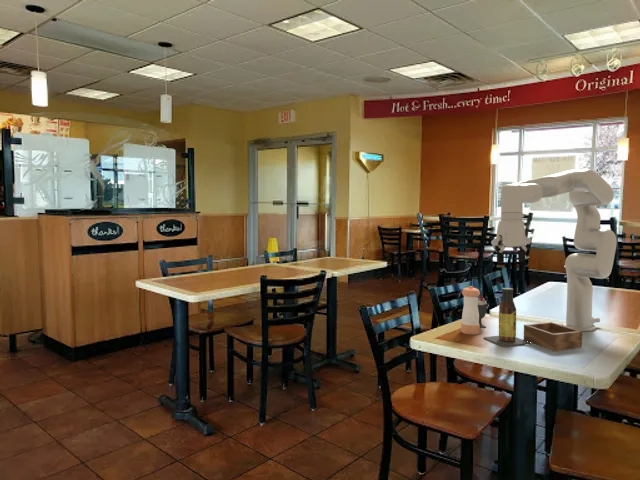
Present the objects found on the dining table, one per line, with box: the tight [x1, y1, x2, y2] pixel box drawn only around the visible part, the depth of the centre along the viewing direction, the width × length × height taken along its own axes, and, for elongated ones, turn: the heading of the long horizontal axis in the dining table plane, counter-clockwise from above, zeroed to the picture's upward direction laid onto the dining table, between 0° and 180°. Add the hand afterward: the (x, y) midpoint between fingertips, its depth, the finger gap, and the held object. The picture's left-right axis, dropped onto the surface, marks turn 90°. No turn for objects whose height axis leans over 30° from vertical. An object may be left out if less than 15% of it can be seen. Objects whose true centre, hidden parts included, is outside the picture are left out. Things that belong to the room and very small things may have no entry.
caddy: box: [523, 321, 583, 352], centre depth 180 cm, size 13×15×6 cm
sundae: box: [478, 292, 489, 329], centre depth 205 cm, size 7×7×15 cm
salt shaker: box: [460, 285, 481, 335], centre depth 197 cm, size 7×7×19 cm
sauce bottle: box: [498, 287, 517, 342], centre depth 183 cm, size 7×6×20 cm
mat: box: [482, 335, 532, 348], centre depth 184 cm, size 12×12×1 cm
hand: (511, 262), depth 182 cm, fingers open, 9 cm apart
